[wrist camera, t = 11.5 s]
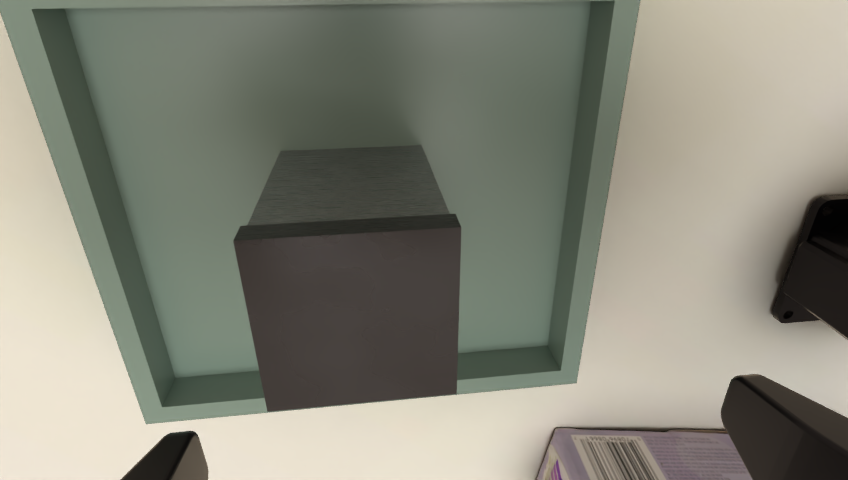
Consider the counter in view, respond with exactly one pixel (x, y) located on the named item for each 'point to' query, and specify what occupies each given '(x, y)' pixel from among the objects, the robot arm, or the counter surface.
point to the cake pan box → (642, 456)
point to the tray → (326, 129)
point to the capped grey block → (352, 279)
